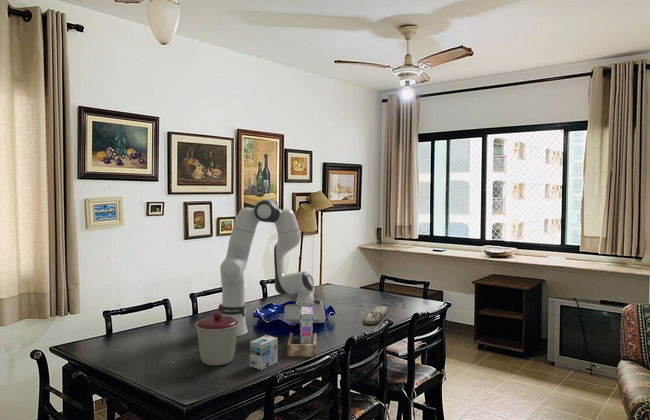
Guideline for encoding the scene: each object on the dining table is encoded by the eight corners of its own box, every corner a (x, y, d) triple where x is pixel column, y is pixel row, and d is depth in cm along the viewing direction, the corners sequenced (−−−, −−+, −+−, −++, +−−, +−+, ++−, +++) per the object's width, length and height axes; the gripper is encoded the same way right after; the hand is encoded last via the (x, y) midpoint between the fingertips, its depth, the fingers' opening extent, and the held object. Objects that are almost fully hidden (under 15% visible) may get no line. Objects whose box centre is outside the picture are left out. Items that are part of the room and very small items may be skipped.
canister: (198, 372, 189) (198, 320, 187) (192, 357, 205) (192, 308, 204) (243, 366, 196) (244, 315, 195) (234, 351, 212) (234, 305, 211)
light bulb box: (261, 371, 191) (262, 344, 191) (249, 367, 195) (249, 341, 194) (278, 362, 200) (278, 337, 200) (265, 359, 204) (265, 334, 203)
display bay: (287, 356, 208) (287, 344, 207) (290, 343, 224) (290, 332, 224) (315, 356, 208) (315, 345, 207) (316, 343, 224) (316, 333, 224)
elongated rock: (391, 313, 286) (374, 312, 289) (391, 304, 286) (374, 303, 289) (378, 326, 253) (360, 325, 256) (378, 316, 253) (360, 315, 256)
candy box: (312, 350, 216) (312, 314, 215) (299, 349, 216) (299, 314, 215) (313, 340, 229) (313, 306, 229) (300, 339, 229) (301, 306, 229)
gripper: (284, 301, 236) (282, 326, 227) (325, 301, 236) (325, 326, 227) (284, 307, 241) (283, 332, 232) (325, 307, 241) (325, 333, 232)
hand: (304, 329), depth 230 cm, fingers closed
